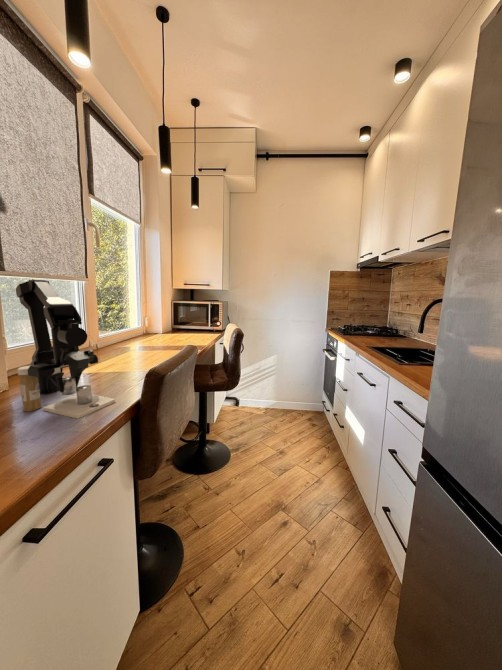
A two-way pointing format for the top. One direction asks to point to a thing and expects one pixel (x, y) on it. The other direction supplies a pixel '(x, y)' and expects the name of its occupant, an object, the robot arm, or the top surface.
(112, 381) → the top surface
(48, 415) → the top surface
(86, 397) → the cylinder
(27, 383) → the sprinkles bottle
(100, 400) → the scale
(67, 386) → the cylinder
